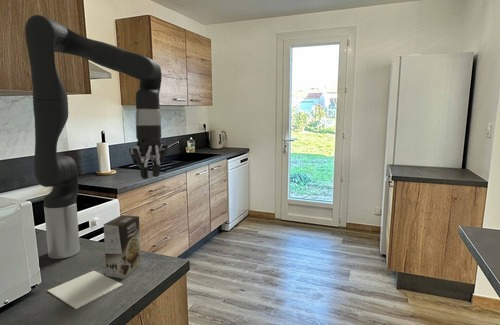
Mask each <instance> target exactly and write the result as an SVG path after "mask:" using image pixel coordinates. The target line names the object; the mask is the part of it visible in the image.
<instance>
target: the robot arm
mask: <svg viewBox="0 0 500 325" xmlns="http://www.w3.org/2000/svg"><path fill="white" fill-rule="evenodd" d="M24 34H25V41H26V42H25V43H26V46H27V53H28V59H29V65H30V75H31V87H32V106H33V109H32V110H33V116H34V118H33V119H34V133H35V134H34V137H35V138H34V139H35V140H34V141H35V143H34V161H33V163H34V164H33V169H34V170H33V171H34V172H33V173H34V177H35V180H36V181H37V183H38V184H39V185H40V186H42V187H44V188H50V187H53V188H52V190H51V191H50V192H48V194H47V195H46V196H44V198H43V210H44V211H43V212H44V220H45V222H44V223H45V233H46V243H47V245H46V246H47V253H48V254H47V256H48V258H50V259H51V260H52V259H53V260H58V259H59V260H61V259H66V258H70V257H73V256H75V255H78V253H79V252H80V250H81V248H80V235H79V234H80V233H79V222H78V221H79V220H78V208H77V197H78V195H79V194H78V193H79V171H78V166H77V163H76V160H74V158H72V157H71V156H68V155H58V153H57V149H58V148H57V146H58V141H59V138H60V136H61V134H62V132H63V130H64V128H65V126H66V124H67V121H68V118H69V99H68V98H69V97H68V93H67V91H66V88H65V85H64V83H63V81H62V79H61V77H60V75H59V73H58V70H57V66H56V60H55V53H62V54H67V55H71V56H72V55H73V56H78V57H81V58H83V59H85V60H88V61H89V62H90V61H91V62H92V63H94V64H96V65H99V66H101V67H102V68H103V67H104V68H106V69H109V70H112V71H114V72H117V73H123V74H124V75H127V76H129V77H132V78H134V79H136V80H139V89H138V90H137V91H136V92H135V136H136V137H135V138H136V139H137V142H136V145H135V146H134V147H129V148H128V152H129V154H130V157H131V160H132V162H133V164H134V166H137V167H139V169H140V170H139V171H140V178H142V179H143V180H148V179H149V169H148V162H149V160H150V159H151V162H152V166H151V168H152V177H154V178H157V177H159V176H160V173H161V172H160V170H161V169H160V168H161V167H160V165H161V164H162V163H164V162H165V160H166V156H167V153H168V148H169V146H168V144H162V143H161V139H162V118H161V109H160V92H161V86H162V68H161V66H160V64H159V63H158V62H157V61H156V60H154V59H151V57H147V56H145V55H142V54H140V53H135V52H132V51H127V49H123V48H121V47H119V46H116V45H113V44H110V43H107V42H103V41H99V40H95V39H91V38H88V37H85V36H83V35H80V34H78V33H77V32H75V31H73V30H72V29H70V28H68V27H66V26H64V25H63V24H62V23H60V22H58V21H55V20H54V19H52V18H48V17H46V16H44V15H41V14H34V15H32V16H30V17H29V18H28V19H27V21H26V23H25V27H24Z"/></svg>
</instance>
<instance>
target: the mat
mask: <svg viewBox="0 0 500 325" xmlns="http://www.w3.org/2000/svg"><path fill="white" fill-rule="evenodd" d="M123 286H124V284H123V283H121V282H118V281H117V280H115V279H112V277H109V276H106V275H105V274H102V273H100V272H99V271H96V270H92V271H90V272H89V271H88V272H87V273H85V274H82V275H80V276H77V277H75V278H73V279H71V280H69V281H65V282H64V283H61V284H59V285H57V286H54V287H53V288H49V289H47V292H48V293H50V294H51V295H53V296H54V297H55V298H58V299H59V300H61V301H62V302H64V303H65V304H67V305H68V306H70V307H72V308H73V309H75V310H78V309H79V308H82V307H83V306H86V305H87V304H89V303H92V302H93V301H95V300H97V299H99V298H101V297H104V296H105V295H108V294H109V293H111V292H113V291H115V290H116V289H118V288H121V287H123Z"/></svg>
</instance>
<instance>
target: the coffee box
mask: <svg viewBox="0 0 500 325" xmlns="http://www.w3.org/2000/svg"><path fill="white" fill-rule="evenodd" d="M140 229H141V228H140V216H139V215H119V216H118V217H116V218H113V219H112V220H109V221H107V222H106V223H103V235H104V237H103V239H104V242H103V243H104V254H105V255H104V258H105V259H104V260H105V276H107V277H109V278H117V279H126V278H127V277H128V276H129V275H130V274H132V273H133V272H134V271H136V270H137V269H139V267H140V266H142V262H141V261H142V257H141V235H140V234H141V233H140Z"/></svg>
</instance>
